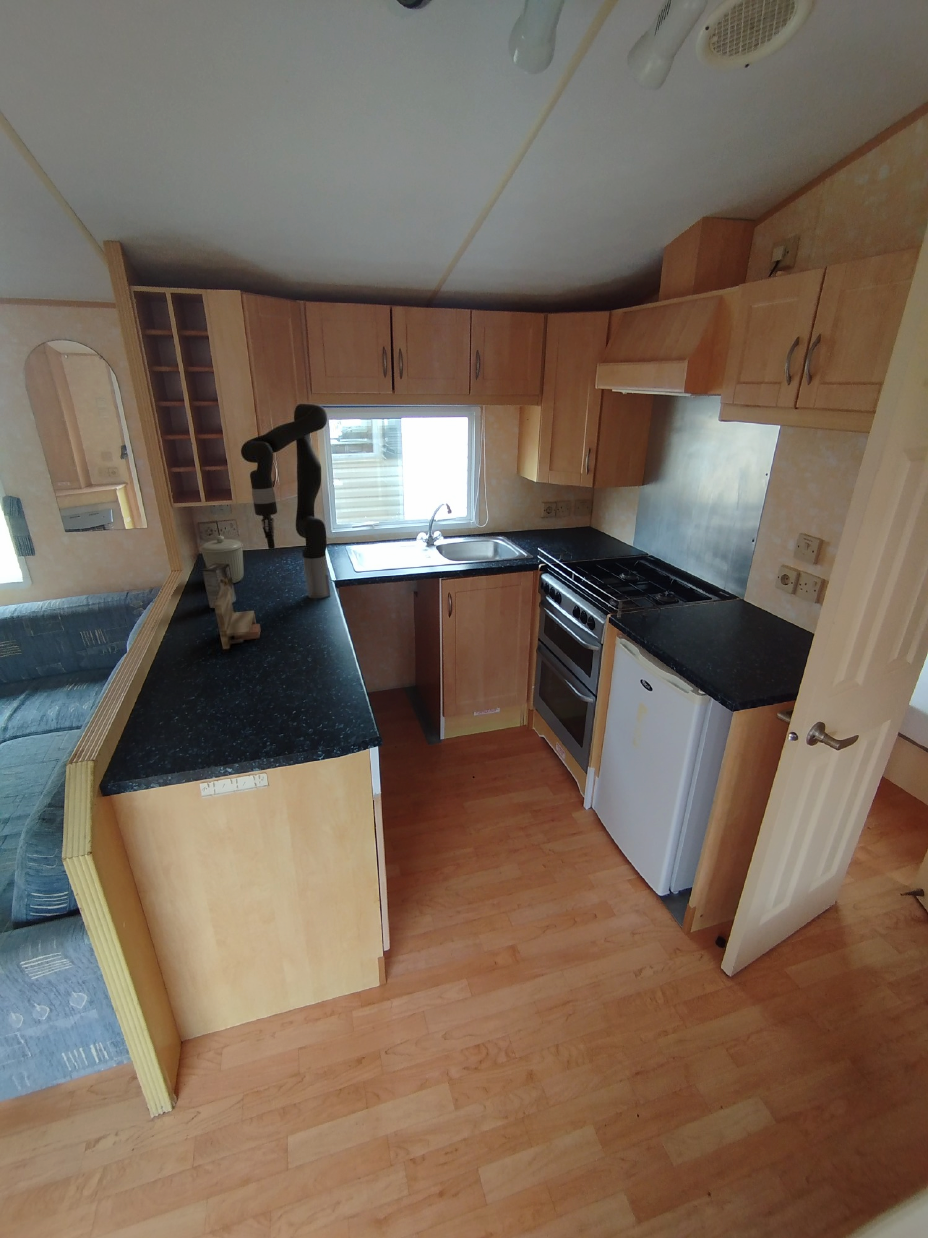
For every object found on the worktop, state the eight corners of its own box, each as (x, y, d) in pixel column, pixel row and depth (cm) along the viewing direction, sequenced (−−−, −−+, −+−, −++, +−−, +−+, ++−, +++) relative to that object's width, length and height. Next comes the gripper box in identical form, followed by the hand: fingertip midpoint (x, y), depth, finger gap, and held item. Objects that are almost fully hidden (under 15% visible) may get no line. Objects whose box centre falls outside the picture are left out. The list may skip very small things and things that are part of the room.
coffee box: (222, 599, 231) (215, 562, 225) (236, 600, 230) (229, 563, 224) (209, 607, 223) (201, 569, 216) (223, 608, 222) (216, 570, 215)
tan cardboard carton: (260, 630, 202) (259, 623, 201) (259, 638, 196) (257, 631, 195) (237, 632, 200) (236, 626, 199) (235, 640, 194) (233, 634, 193)
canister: (256, 580, 253) (248, 535, 245) (217, 590, 241) (208, 543, 233) (237, 572, 264) (229, 528, 256) (199, 581, 252) (190, 536, 244)
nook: (256, 624, 207) (249, 583, 200) (251, 645, 190) (243, 602, 183) (230, 627, 205) (222, 586, 199) (223, 649, 188) (214, 605, 182)
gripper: (274, 503, 191) (281, 552, 198) (276, 496, 203) (283, 542, 210) (251, 504, 189) (259, 554, 196) (255, 497, 201) (262, 544, 208)
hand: (271, 548), depth 203 cm, fingers closed
